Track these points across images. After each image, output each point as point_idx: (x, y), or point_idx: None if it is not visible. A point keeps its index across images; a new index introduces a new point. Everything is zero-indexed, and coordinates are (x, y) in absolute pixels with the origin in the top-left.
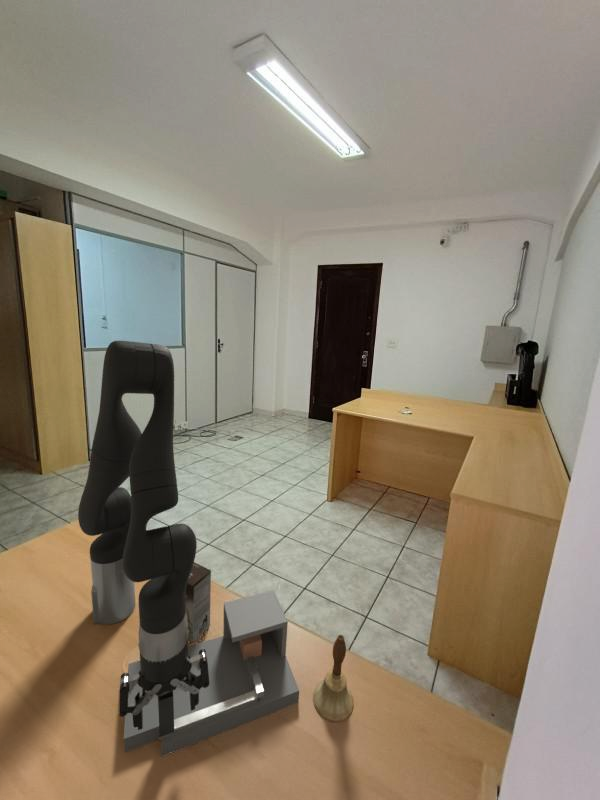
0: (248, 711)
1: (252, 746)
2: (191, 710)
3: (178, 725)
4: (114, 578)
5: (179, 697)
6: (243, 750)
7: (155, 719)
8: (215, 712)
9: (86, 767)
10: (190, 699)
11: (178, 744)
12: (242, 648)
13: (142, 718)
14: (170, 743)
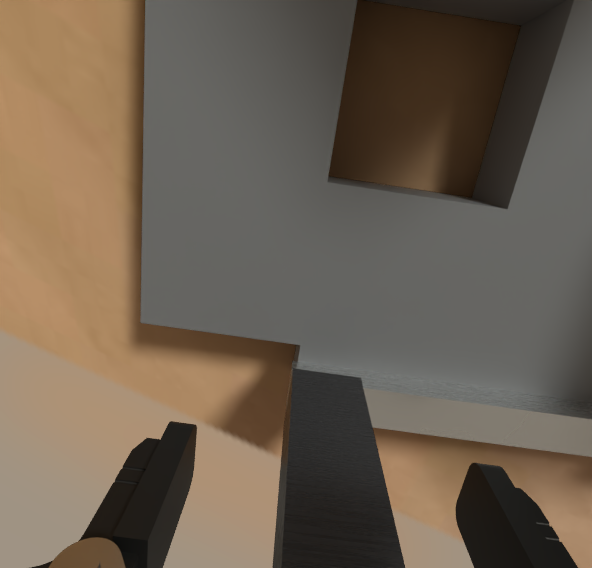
0: None
1: (575, 479)
2: (458, 520)
3: (372, 418)
4: None
5: (417, 262)
6: (543, 475)
7: (282, 310)
8: (544, 444)
9: (36, 278)
10: (486, 552)
11: None
12: None
13: (186, 471)
14: None
